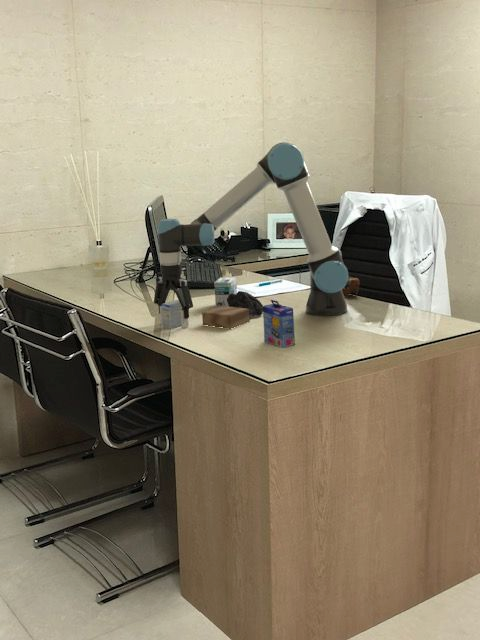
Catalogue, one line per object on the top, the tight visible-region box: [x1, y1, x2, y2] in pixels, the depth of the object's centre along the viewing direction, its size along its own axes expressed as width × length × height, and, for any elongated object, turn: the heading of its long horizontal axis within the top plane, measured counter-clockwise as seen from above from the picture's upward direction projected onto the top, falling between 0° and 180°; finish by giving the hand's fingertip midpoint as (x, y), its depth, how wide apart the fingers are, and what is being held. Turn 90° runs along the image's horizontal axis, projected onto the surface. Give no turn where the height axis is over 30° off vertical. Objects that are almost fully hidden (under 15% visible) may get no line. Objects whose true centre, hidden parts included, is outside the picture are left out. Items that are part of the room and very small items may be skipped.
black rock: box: [227, 290, 264, 319], centre depth 295 cm, size 13×14×10 cm
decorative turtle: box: [342, 275, 361, 298], centre depth 322 cm, size 10×15×8 cm, turn 36°
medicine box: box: [161, 299, 182, 330], centre depth 283 cm, size 8×4×9 cm, turn 141°
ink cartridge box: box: [262, 299, 296, 349], centre depth 254 cm, size 10×6×14 cm, turn 35°
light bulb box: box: [213, 277, 238, 308], centre depth 309 cm, size 11×7×11 cm, turn 168°
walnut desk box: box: [201, 306, 250, 330], centre depth 283 cm, size 12×12×5 cm
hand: (174, 325), depth 284 cm, fingers open, 10 cm apart
